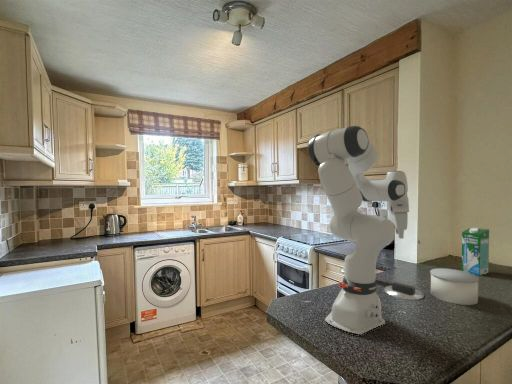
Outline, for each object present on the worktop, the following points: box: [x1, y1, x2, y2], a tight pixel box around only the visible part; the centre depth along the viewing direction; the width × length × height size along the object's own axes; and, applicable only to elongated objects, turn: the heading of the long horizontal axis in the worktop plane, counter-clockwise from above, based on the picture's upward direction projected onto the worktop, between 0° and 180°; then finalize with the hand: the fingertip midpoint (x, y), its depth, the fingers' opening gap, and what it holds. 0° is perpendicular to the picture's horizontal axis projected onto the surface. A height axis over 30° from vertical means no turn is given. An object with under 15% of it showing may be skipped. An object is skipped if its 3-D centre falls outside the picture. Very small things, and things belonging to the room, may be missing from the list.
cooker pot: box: [429, 267, 480, 306], centre depth 122 cm, size 18×18×10 cm
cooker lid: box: [383, 281, 425, 301], centre depth 126 cm, size 16×16×4 cm
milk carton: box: [461, 227, 490, 276], centre depth 155 cm, size 9×9×25 cm
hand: (399, 235), depth 126 cm, fingers open, 8 cm apart
